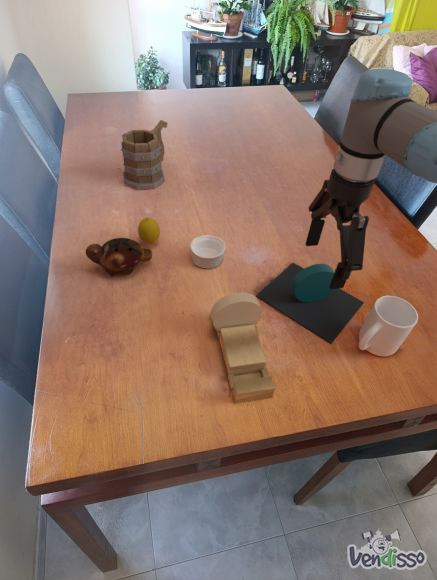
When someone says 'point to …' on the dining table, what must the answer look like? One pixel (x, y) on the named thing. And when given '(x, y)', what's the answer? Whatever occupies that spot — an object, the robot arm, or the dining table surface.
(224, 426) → the dining table surface
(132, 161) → the tankard
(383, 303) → the mug
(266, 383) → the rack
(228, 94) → the dining table surface
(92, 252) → the brown piece
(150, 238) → the lemon
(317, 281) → the teal disc
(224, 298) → the cream disc
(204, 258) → the ramekin
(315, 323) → the mat
